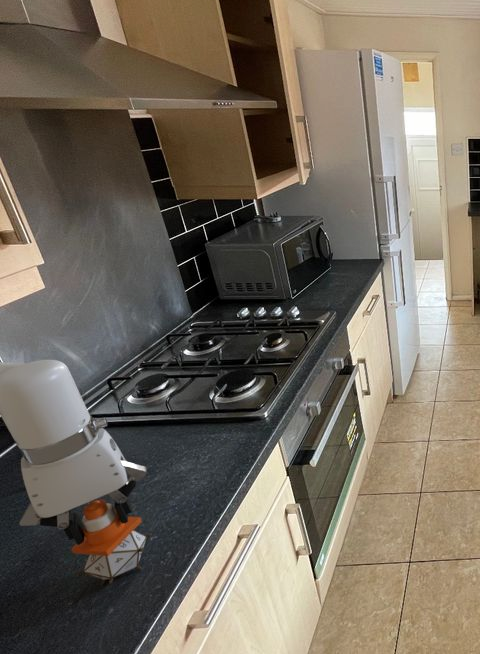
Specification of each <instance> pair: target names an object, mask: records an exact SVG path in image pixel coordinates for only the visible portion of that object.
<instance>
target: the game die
mask: <svg viewBox="0 0 480 654" xmlns="http://www.w3.org/2000/svg"><path fill="white" fill-rule="evenodd" d="M152 535H153V533H150V532H149V533H148V534H146V535H145V534H143V533H141V532H139V531H137V530H135V529H134V530H133V531H132V532H131V533H130V534H129V535H128V536H127V537H126V538H125V539H124V540H123V541H122V542H121V543H120V544H119V545H118V546H117V548H116V549H115V550H114V551H113V552H112V553H111V554H110V555H109V556H102V555H89V554H88V556H87V558H86V561H85V564H84V567H83V569H82V571H79V572H77V573H76V575H75V577H80V576H81V575H83V574H86V575H88V576H91V577H93V578H96V579H100V580H101V581H100V585H101V586H103V585H105V583H106V581H107V580H108V583H109V584H112V583H113V582H114V579H115V578H116V577H118V576H119V577H120V576H121V575H123V574H125V573H127V572H130V571H132V570H134V569H136V570H138V571H139V570H142V566H141V565H140V562H141V558H142V554H143V551H144V548H145V545H146V541H147V538H150V537H152Z"/></svg>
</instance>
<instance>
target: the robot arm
mask: <svg viewBox="0 0 480 654" xmlns="http://www.w3.org/2000/svg"><path fill="white" fill-rule="evenodd" d="M71 373H72V372H71V371H70V369H69V367H68V366H67V365H66V363H64V362H63V361H60V360H57V359H40V360H35V361H30V362H26V363H21V362H20V363H19V362H5V361H0V417H1V419H2V420H3V423H4V424H5V427H6V428H7V430H8V432H9V433H10V434H11V437H12V439H13V441H14V442H15V444H16V446H17V448H18V450H19V451H20V453H21V455H22V457H21V459H20V470H21V476H22V480H23V484H24V486H25V490H26V492H27V496H28V499H29V503H28V504H27V507H26V508H25V510H24V512H23V513H22V515H21V516H20V520H19V524H18V525H19V526H21V527H29V526H37V525H39V526H41V527H52V528H53V527H54V528H55V527H56V528H57V529H58V530H63V531H64V534H66V536H67V538H68V540H69V541H71V540H74V541H75V543H76V544H77V545H79V544H81V543H83V542H84V538H85V535H84V533H83V528H84V524H83V522H82V519H81V518H80V516H79V514H78V513H77V512H75V511H74V512H72V511H71V510H72V509H75V508H78V507H80V506H83V505H85V504H88V503H90V502H92V501H95V500H98V499H99V498H101V497H104V496H106V495H107V496H109V497H110V498H111V499H112V500H113V501H114V510H116V512H117V514H118V516H119V518H120V520H121V523H122V524H123V523H124V524H125V523H127V522H128V517H129V514H131V513H133V508H132V507H133V506H132V504H131V501H130V500H129V496H130V495H131V493H132V492H133V491H134V489H135V487H136V486H137V484H138V483H140V481H141V480H143V478H145V476H146V475H147V474H148V470H147V469H148V468H147V467H146V466H144V465H141V464H136V463H133V462H130V461H127V460H126V458H125V456H124V455H123V453H122V451H121V449H120V447H119V446H118V444H117V443H116V441H115V440H114V438H113V437H112V435H110V433H109V432H108V431H107V430H106V429H105V427H108V426H109V423H108V420H107V418H106V417H102V418H97V419H96V418H95V417H93V415H91V414H90V413H89V411H88V408H87V406H86V404H85V400H83V397H82V395H81V393H80V391H79V387H77V384H76V382H75V380H74V377H73V375H72V374H71ZM128 476H130V477H128Z"/></svg>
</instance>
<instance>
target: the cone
mask: <svg viewBox="0 0 480 654" xmlns="http://www.w3.org/2000/svg"><path fill="white" fill-rule="evenodd" d="M82 514H83V516H82V518H81V522H82V524H83V525H84V528H83V533H84V535H85V538H84V542H83V543H81V544H79V545H77V543H76V544H75V545H74V546H73V547H71V548H70V550H71V552H72V553H73V554H75V555H88V556H89V555H102V556H109V555H110V554H111V553H112V552H113V551H114V550H115V549H116V548H117V546H118V545H119V544H120V543H121V542H122V541H123V540H124V539H125V538H126V537H127V536H128V535H129V534H130V533H131V532H132V531H133V530H135V529H136V528H137V527H138V526H139V525H140V524H141V523H142V522H143V521H142V518H141V517H140V516H128V522H127V523H125V524H124V523H123V524H122V523H121V520H120V518H119V516H118V514H117V512H116V510H115V508H114V507H113V504H111V503H108V502H106V500H105V499H102V498H101V499H99V498H98V499H95V500H92V501H90V502H88V503H87V504H86V505H85V506H84V508H83V509H82Z"/></svg>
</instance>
